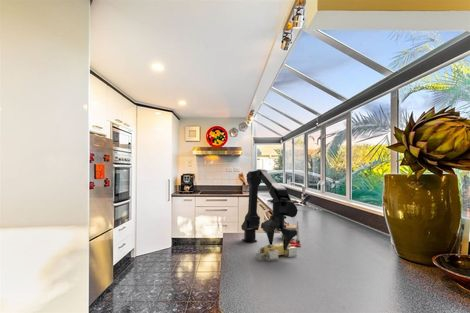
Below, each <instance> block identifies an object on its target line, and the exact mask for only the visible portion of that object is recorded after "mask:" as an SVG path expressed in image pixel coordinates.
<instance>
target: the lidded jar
mask: <svg viewBox="0 0 470 313" xmlns="http://www.w3.org/2000/svg"><path fill="white" fill-rule="evenodd" d="M284 225H286V227H285V228H294V229H296V230H297V226H296V225H295V224H290V223H289V222H287V223H284ZM279 234H280V236H281V235H283V234H282V232H281V231H279ZM294 238H295V237H293V238H292V239H291V241H293V240H294Z"/></svg>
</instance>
